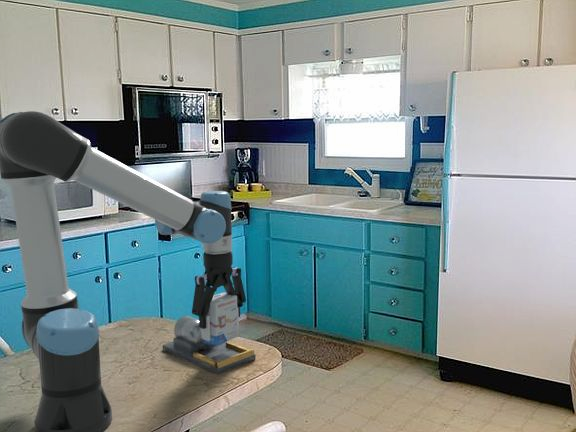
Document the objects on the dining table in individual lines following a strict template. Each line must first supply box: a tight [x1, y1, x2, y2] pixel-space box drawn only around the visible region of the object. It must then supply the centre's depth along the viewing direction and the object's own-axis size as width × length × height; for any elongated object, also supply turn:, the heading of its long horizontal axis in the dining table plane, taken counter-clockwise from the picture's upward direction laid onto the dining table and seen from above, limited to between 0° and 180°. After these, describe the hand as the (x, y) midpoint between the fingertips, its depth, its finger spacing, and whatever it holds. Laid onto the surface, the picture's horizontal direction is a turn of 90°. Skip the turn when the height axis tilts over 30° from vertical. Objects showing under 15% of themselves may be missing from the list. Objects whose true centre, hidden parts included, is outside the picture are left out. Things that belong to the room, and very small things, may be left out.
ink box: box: [203, 292, 239, 346], centre depth 156 cm, size 9×5×12 cm, turn 143°
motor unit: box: [162, 315, 257, 375], centre depth 161 cm, size 13×24×8 cm, turn 46°
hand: (220, 334), depth 156 cm, fingers closed on ink box, 9 cm apart
